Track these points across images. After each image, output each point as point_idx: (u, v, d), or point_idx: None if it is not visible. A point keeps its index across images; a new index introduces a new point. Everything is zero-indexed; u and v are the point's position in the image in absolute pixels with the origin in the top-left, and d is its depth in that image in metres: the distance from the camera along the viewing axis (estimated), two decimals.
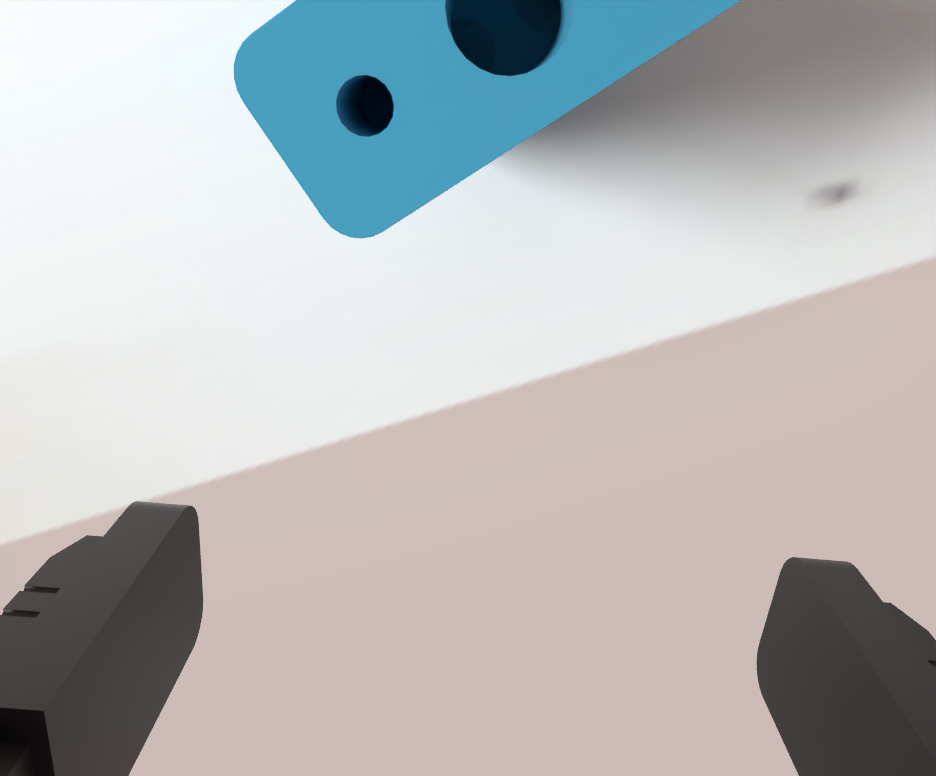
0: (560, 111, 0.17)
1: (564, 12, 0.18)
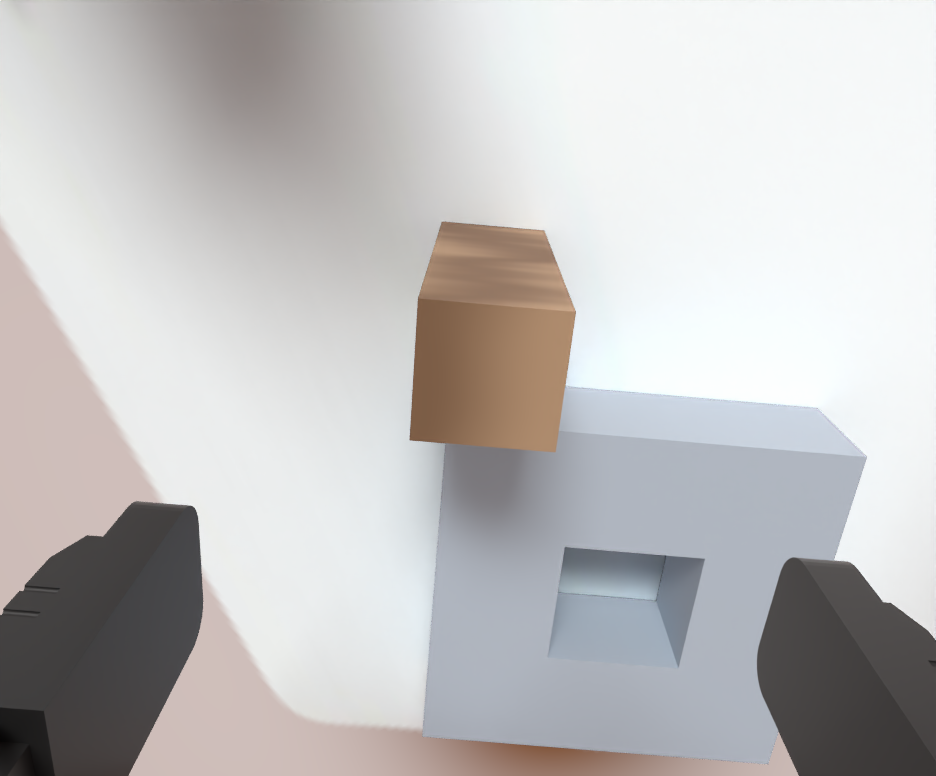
0: None
1: None
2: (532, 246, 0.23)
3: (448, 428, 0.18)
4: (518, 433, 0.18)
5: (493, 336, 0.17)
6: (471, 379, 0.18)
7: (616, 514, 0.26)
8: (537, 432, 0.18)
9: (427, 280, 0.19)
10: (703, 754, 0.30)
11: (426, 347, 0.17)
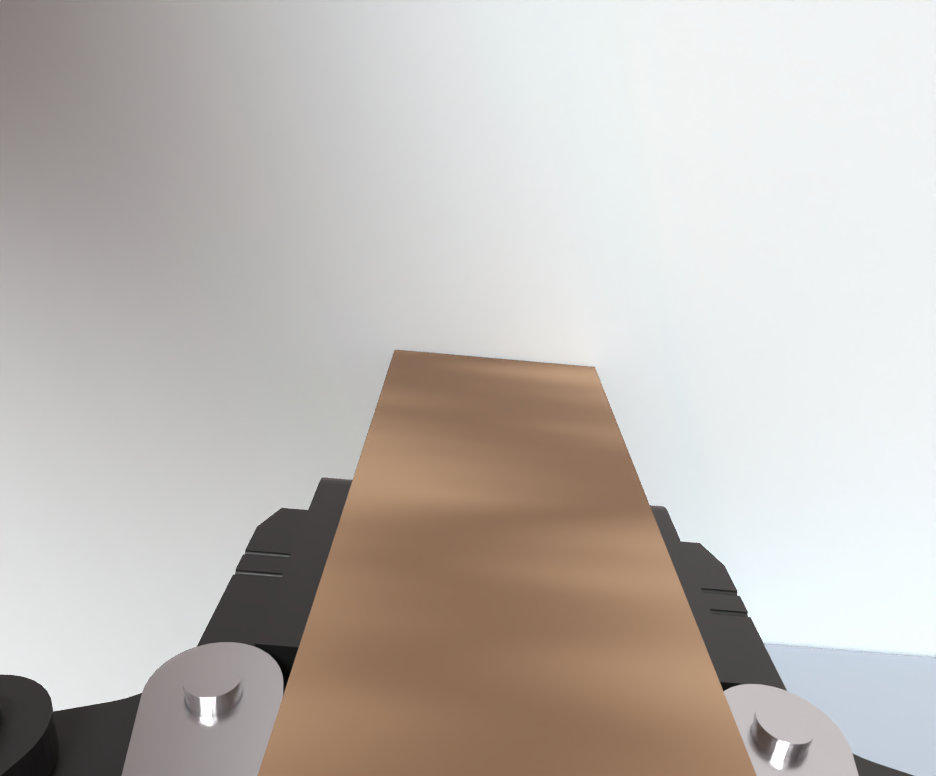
0: None
1: None
2: (583, 437, 0.11)
3: None
4: None
5: None
6: None
7: None
8: None
9: (288, 717, 0.06)
10: None
11: None
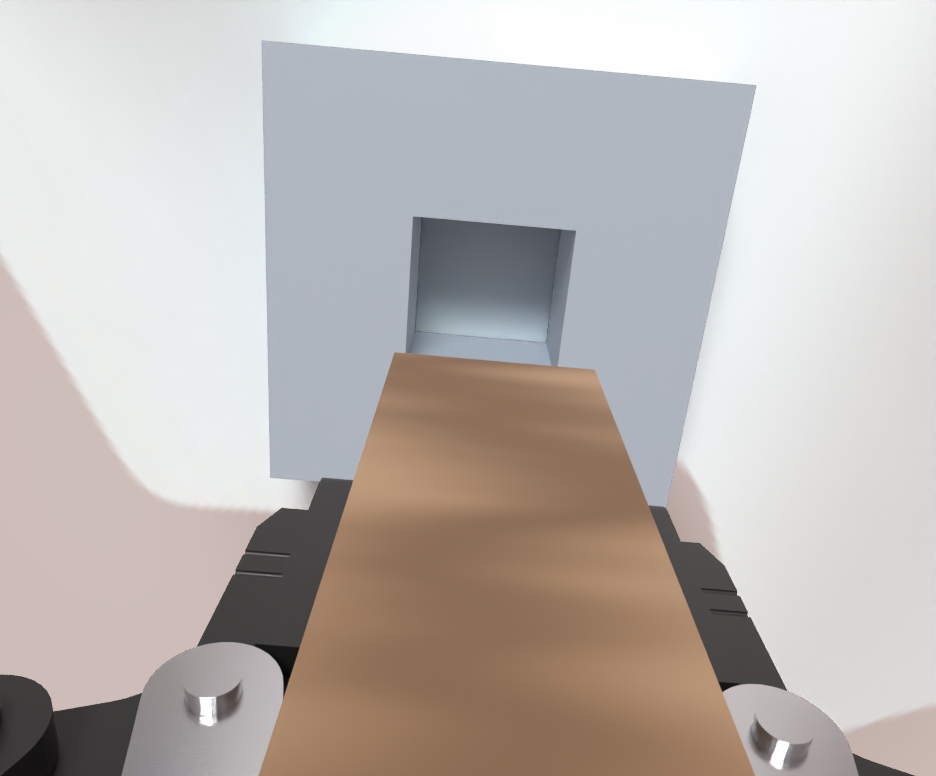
0: None
1: None
2: (583, 440, 0.11)
3: None
4: None
5: None
6: None
7: (470, 170, 0.22)
8: None
9: (288, 722, 0.06)
10: None
11: None
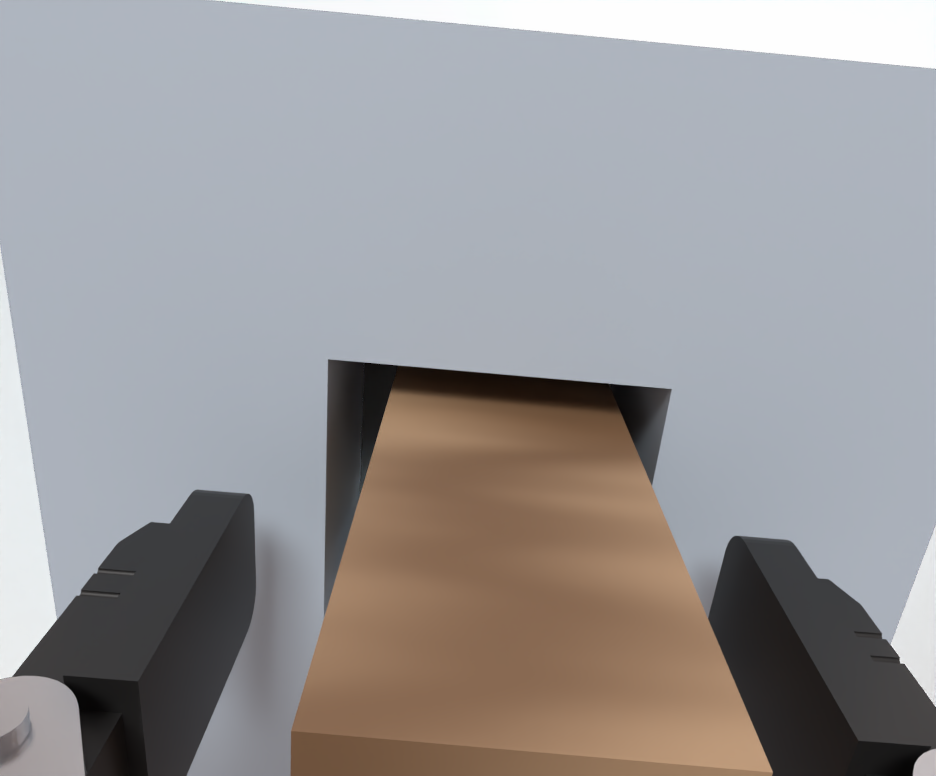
0: None
1: None
2: (580, 398, 0.12)
3: None
4: None
5: None
6: None
7: (447, 267, 0.10)
8: None
9: (342, 590, 0.07)
10: None
11: None
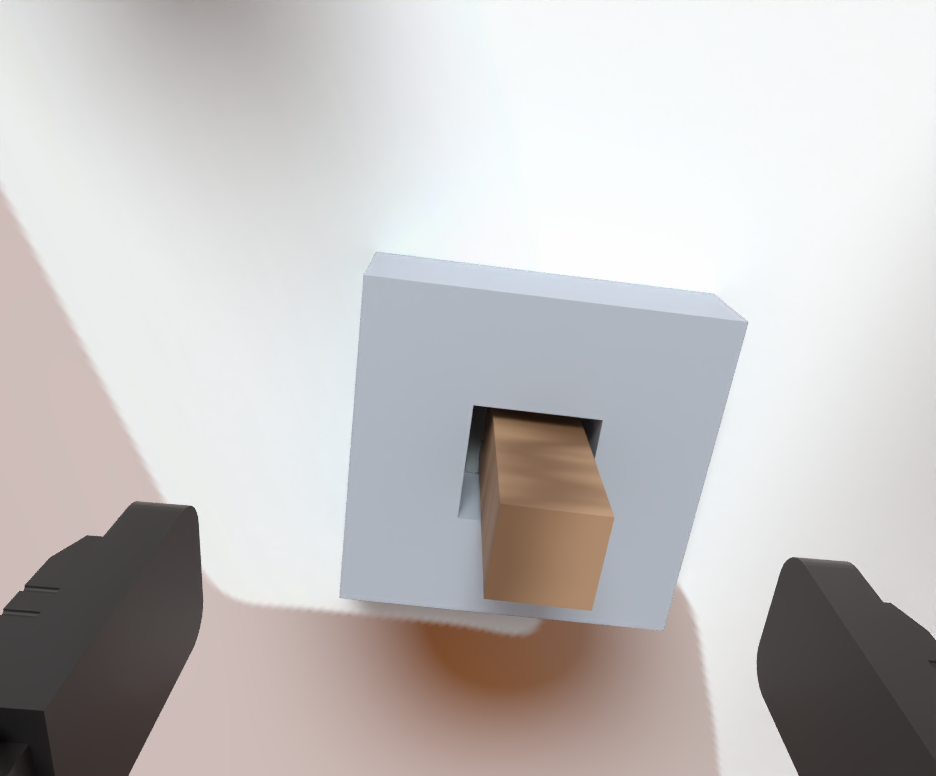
0: None
1: None
2: (567, 421, 0.30)
3: (513, 591, 0.24)
4: (565, 597, 0.24)
5: (553, 531, 0.23)
6: (534, 559, 0.24)
7: (521, 373, 0.28)
8: (579, 596, 0.24)
9: (501, 478, 0.25)
10: (603, 620, 0.32)
11: (502, 536, 0.24)
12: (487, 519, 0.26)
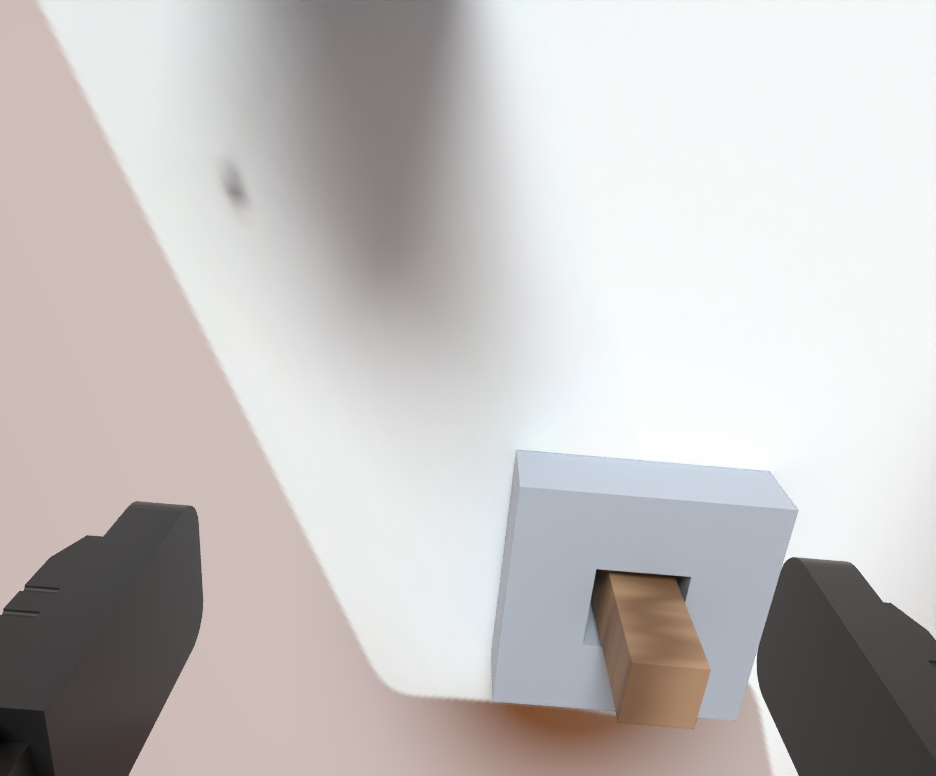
0: None
1: None
2: None
3: (639, 717, 0.35)
4: (675, 720, 0.35)
5: (668, 679, 0.34)
6: (654, 697, 0.34)
7: (631, 547, 0.38)
8: (685, 720, 0.35)
9: (627, 637, 0.35)
10: None
11: (633, 682, 0.34)
12: (613, 659, 0.37)
